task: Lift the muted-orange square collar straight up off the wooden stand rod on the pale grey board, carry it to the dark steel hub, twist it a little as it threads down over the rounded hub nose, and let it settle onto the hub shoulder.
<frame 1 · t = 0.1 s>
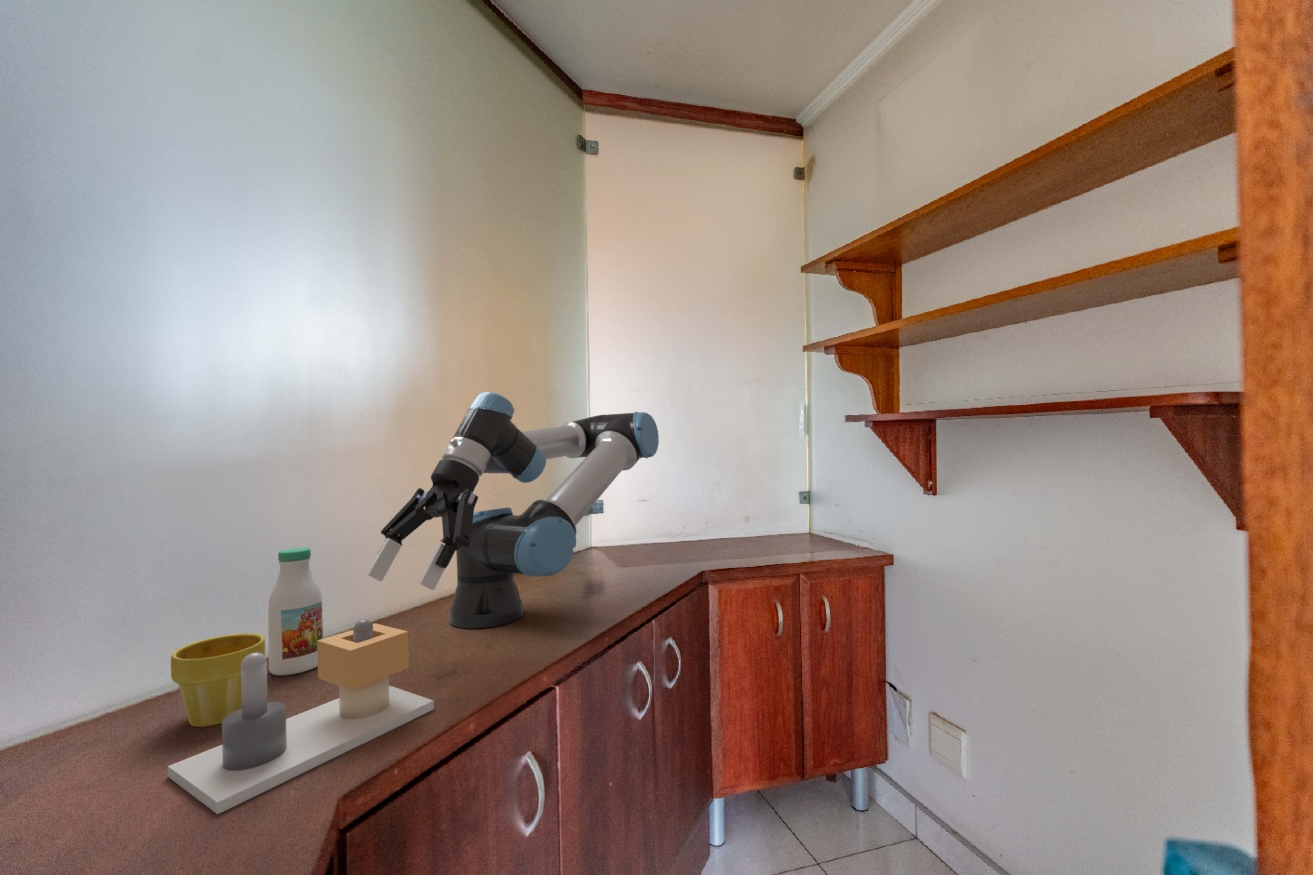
hand: (398, 582, 87), 15 cm above the worktop, fingers open, 13 cm apart
plant pot: (221, 716, 77), on the worktop
milk bottle: (296, 668, 93), on the worktop
collar: (364, 672, 75), point 6 cm above the worktop, touching assembly board
assembly board: (314, 739, 69), on the worktop
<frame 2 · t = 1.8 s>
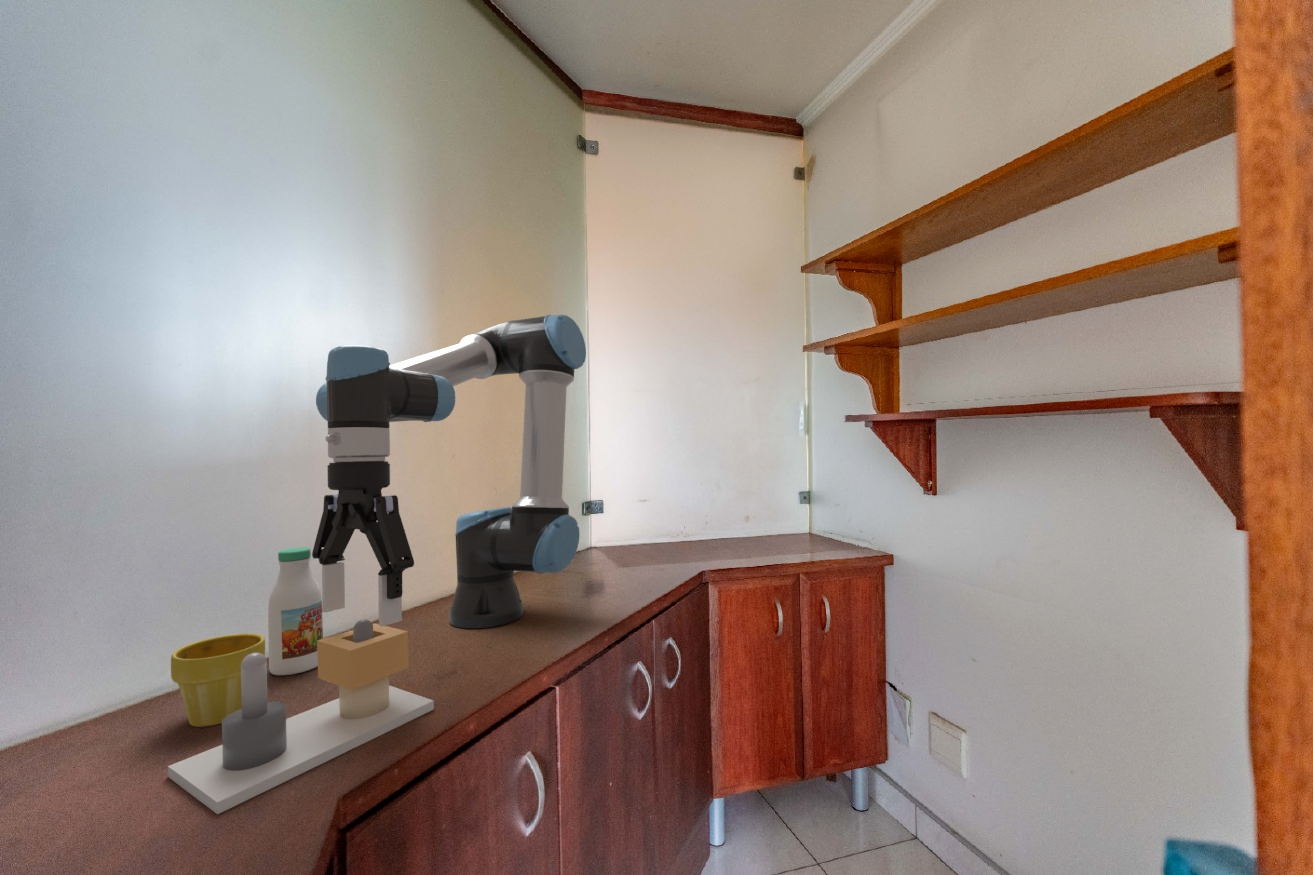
hand: (360, 616, 75), 14 cm above the worktop, fingers open, 13 cm apart
nothing on the worktop moved.
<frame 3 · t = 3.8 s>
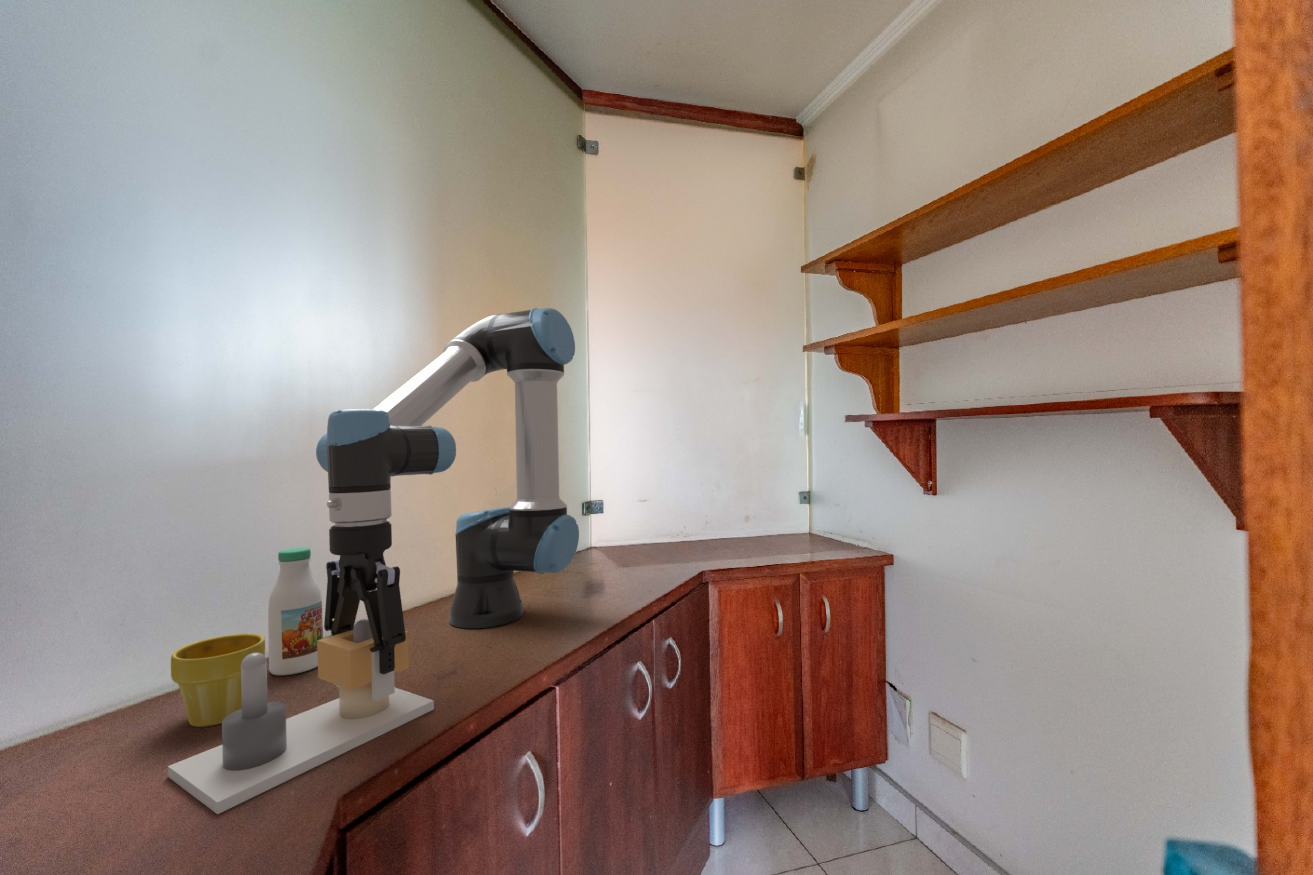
hand: (364, 689, 75), 4 cm above the worktop, fingers closed on collar, 8 cm apart
collar: (364, 672, 75), point 6 cm above the worktop, touching assembly board, gripper
everything else where it was.
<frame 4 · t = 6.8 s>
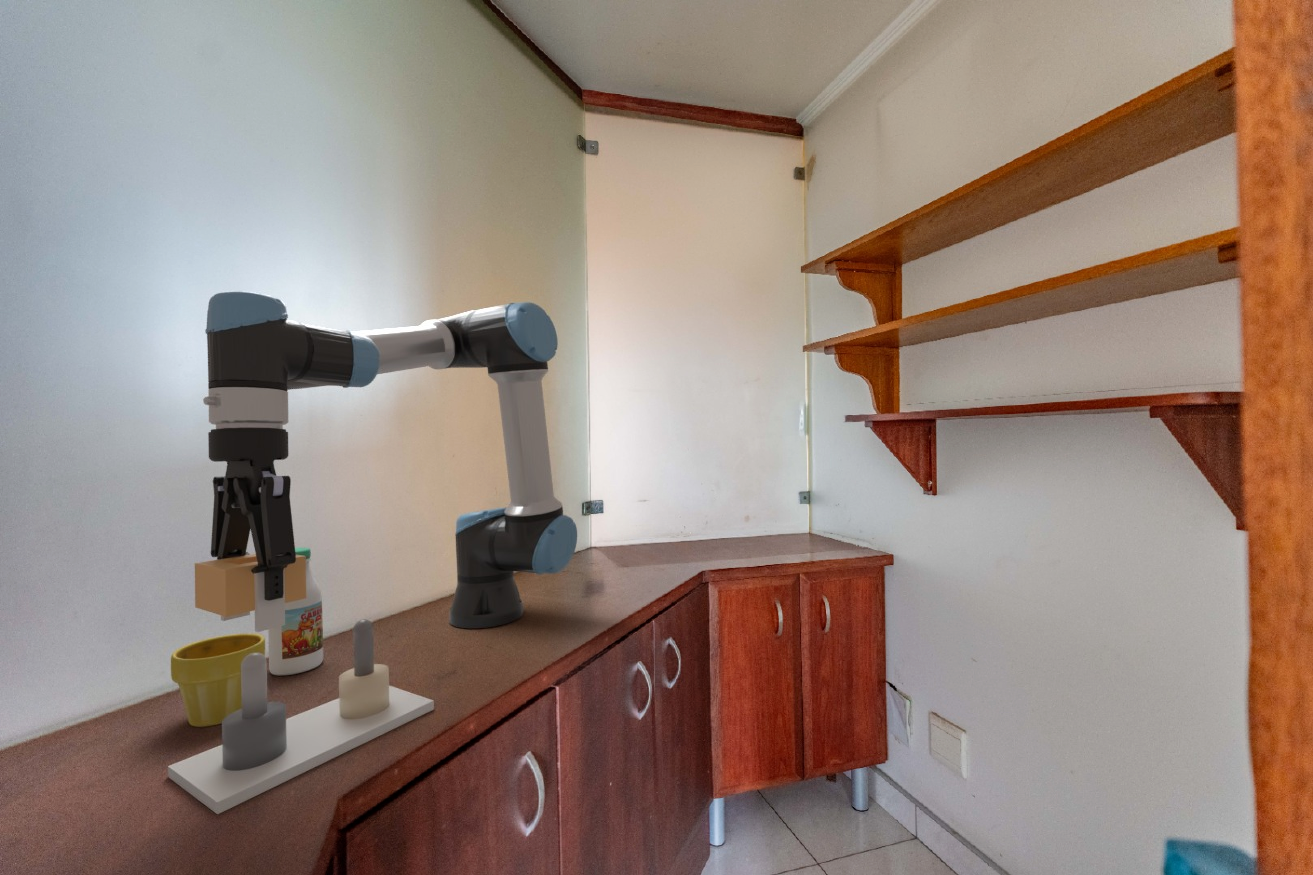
hand: (252, 622, 64), 17 cm above the worktop, fingers closed on collar, 8 cm apart
collar: (251, 602, 64), point 19 cm above the worktop, touching gripper
everything else where it was.
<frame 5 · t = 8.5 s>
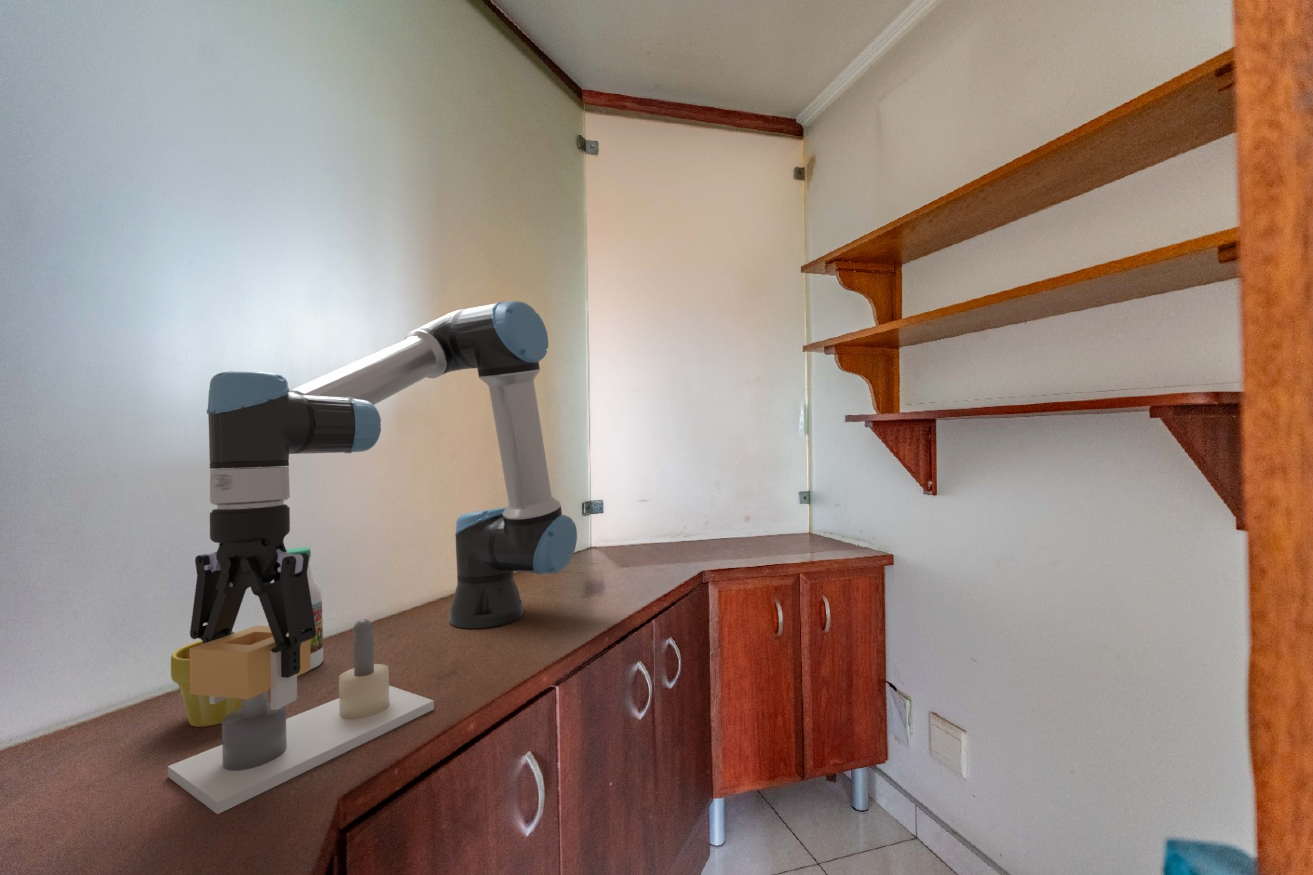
hand: (253, 701, 64), 8 cm above the worktop, fingers closed on collar, 8 cm apart
collar: (253, 681, 64), point 10 cm above the worktop, touching gripper
everything else where it was.
when the fingers open (5 cm above the worktop, at t = 9.9 s): collar stays where it is, resting on assembly board.
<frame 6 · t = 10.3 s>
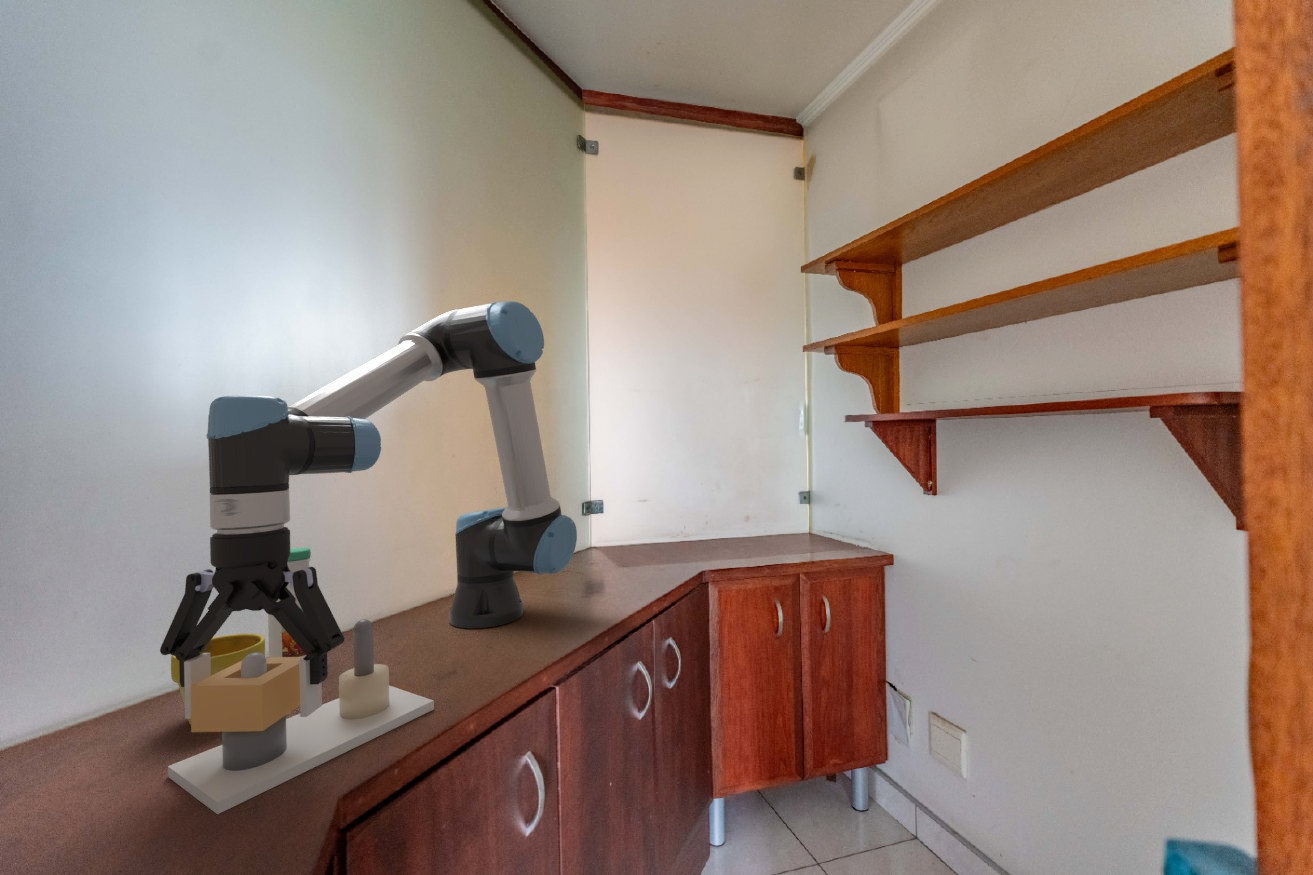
hand: (254, 712, 64), 6 cm above the worktop, fingers open, 13 cm apart
collar: (254, 713, 64), point 6 cm above the worktop, touching assembly board
everything else where it was.
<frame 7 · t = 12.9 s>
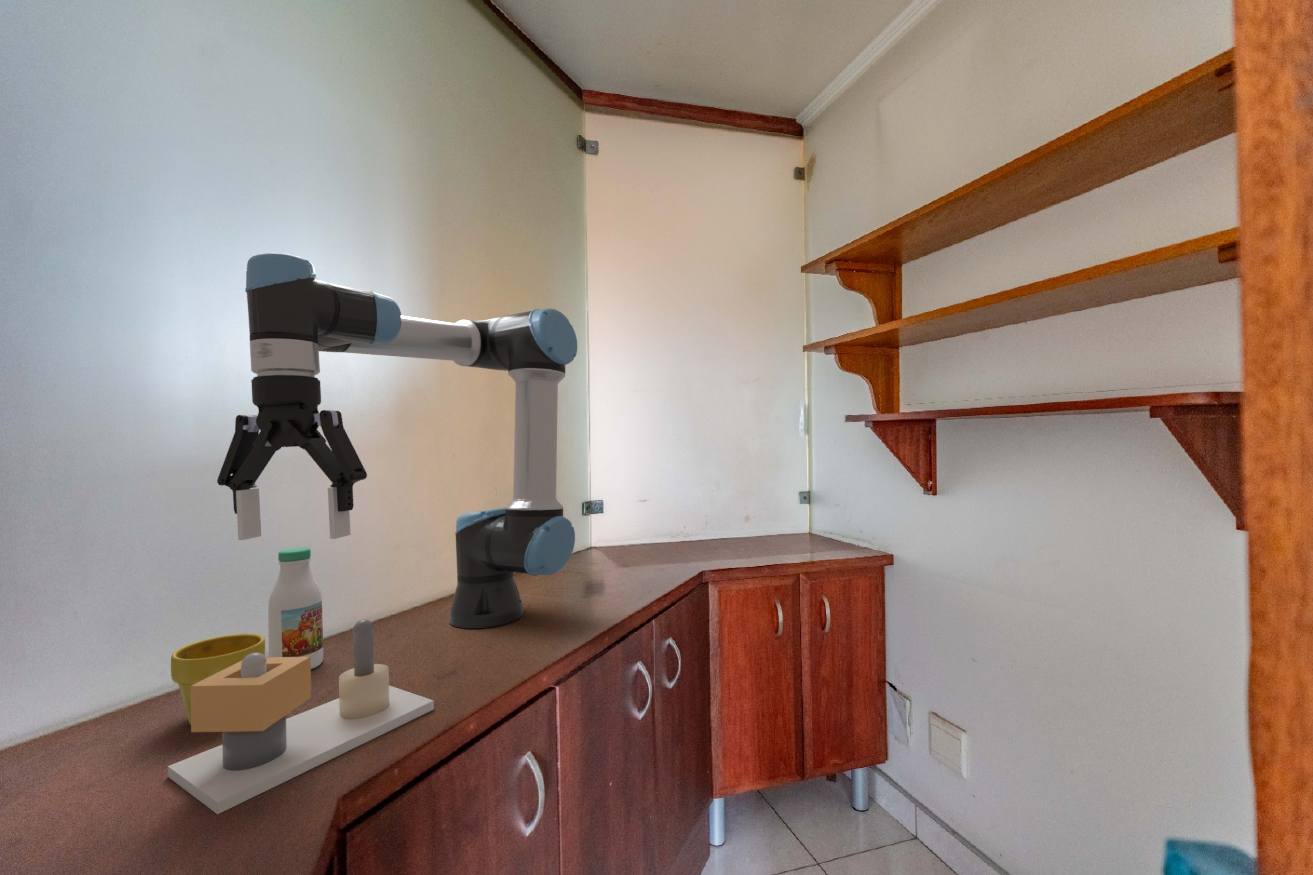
hand: (294, 537, 72), 25 cm above the worktop, fingers open, 13 cm apart
nothing on the worktop moved.
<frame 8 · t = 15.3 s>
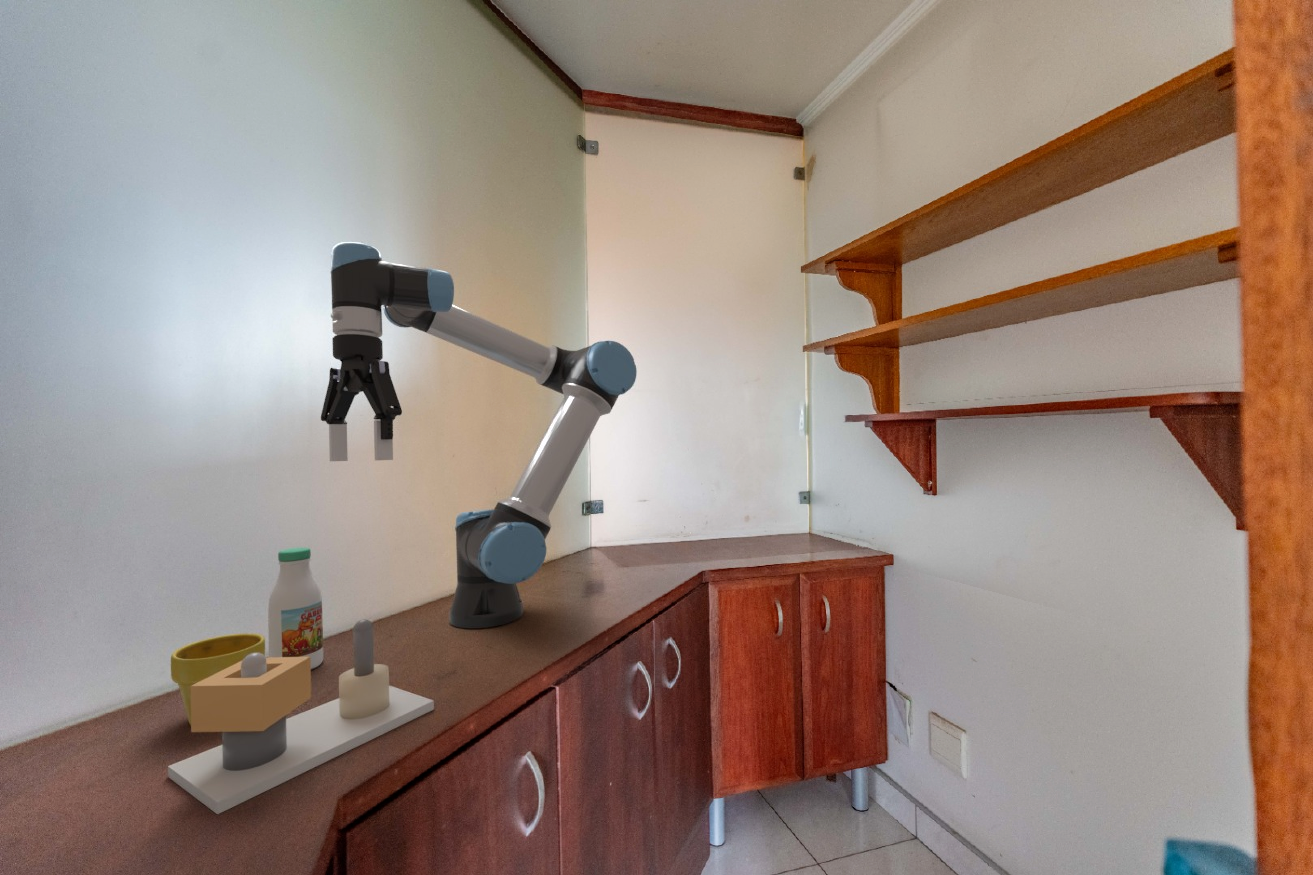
hand: (360, 460, 94), 35 cm above the worktop, fingers open, 13 cm apart
nothing on the worktop moved.
at the end: collar 0.0 cm from the target spot on the assembly board, point 6.0 cm above the assembly board's base; collar tilted 0°; the gripper is holding nothing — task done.
